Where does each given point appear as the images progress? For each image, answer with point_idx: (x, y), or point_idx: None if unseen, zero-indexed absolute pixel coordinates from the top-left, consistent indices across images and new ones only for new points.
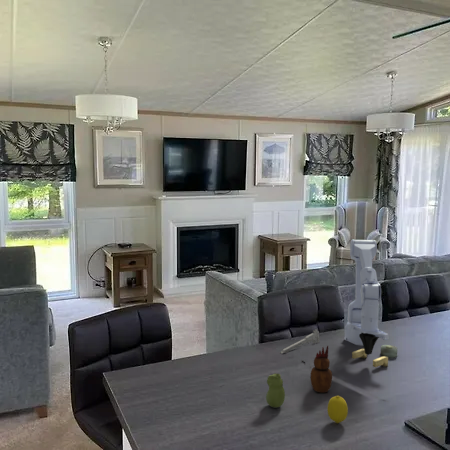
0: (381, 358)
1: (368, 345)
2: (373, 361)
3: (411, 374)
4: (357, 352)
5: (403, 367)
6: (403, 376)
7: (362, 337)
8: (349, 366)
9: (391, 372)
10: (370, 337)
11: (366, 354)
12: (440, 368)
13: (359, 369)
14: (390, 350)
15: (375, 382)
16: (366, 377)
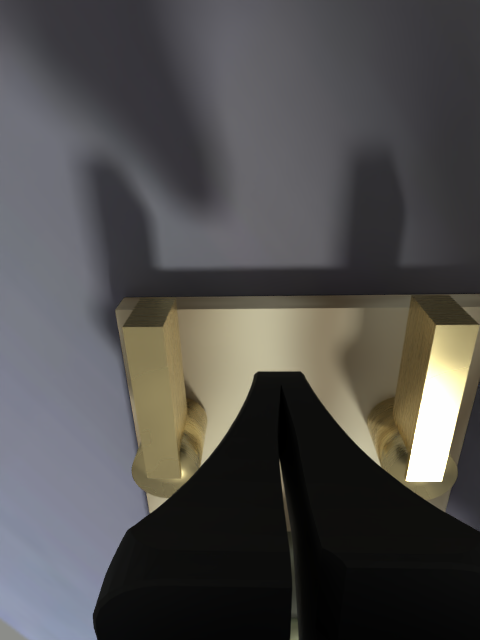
0: (150, 429)
1: (229, 444)
2: (157, 321)
3: (29, 465)
4: (425, 368)
5: (136, 509)
6: (24, 405)
7: (370, 530)
8: (411, 209)
9: (115, 395)
10: (114, 607)
11: (375, 448)
12: (30, 620)
13: (303, 235)
14: None
15: (18, 118)
16: (143, 138)
